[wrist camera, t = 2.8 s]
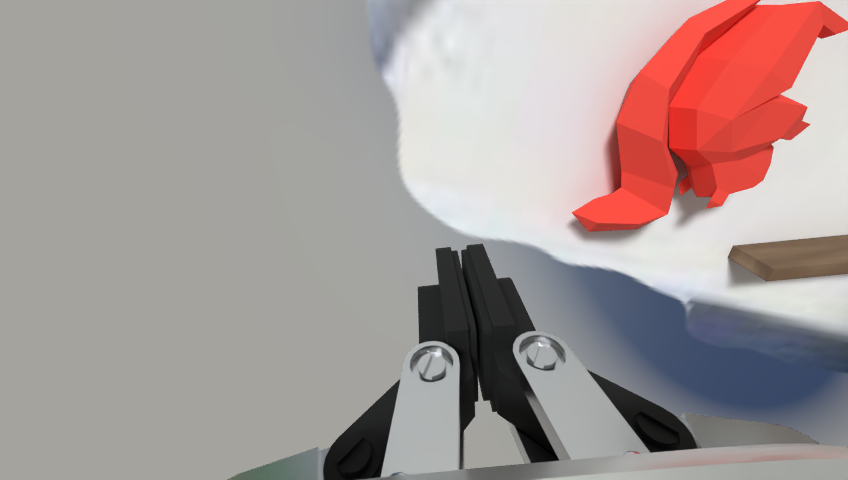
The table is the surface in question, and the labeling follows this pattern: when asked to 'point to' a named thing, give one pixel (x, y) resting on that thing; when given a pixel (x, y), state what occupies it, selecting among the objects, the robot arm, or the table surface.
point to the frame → (794, 258)
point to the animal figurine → (710, 108)
